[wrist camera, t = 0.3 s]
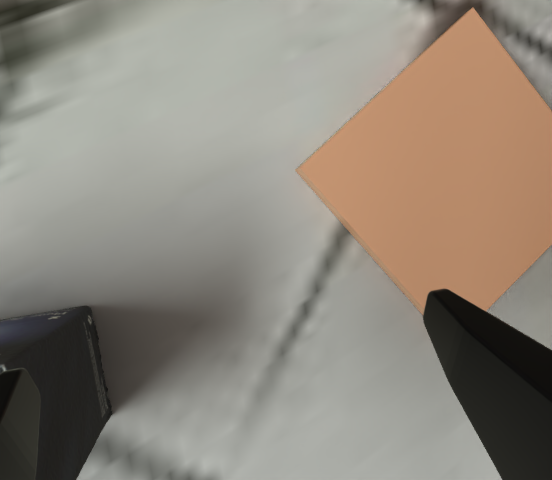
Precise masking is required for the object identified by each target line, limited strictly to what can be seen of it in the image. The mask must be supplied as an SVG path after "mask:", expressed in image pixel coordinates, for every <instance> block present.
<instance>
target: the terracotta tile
mask: <svg viewBox="0 0 552 480" xmlns="http://www.w3.org/2000/svg"><path fill="white" fill-rule="evenodd" d="M295 171H296V172H297V173H298V174H299V175H300V176H301V178H302V179H303V180H304V181H305V182H306V183H307V184H308V185H309V187H310V188H311V189H312V190H313V191H314V192H315V193H316V195H317V196H318V197H319V198H320V199H321V200H322V201H323V202H324V204H325V205H326V206H327V207H328V208H329V209H330V210H331V212H332V213H333V214H334V215H335V216H336V217H337V218H338V219H339V221H340V222H341V223H342V224H343V225H344V226H345V227H346V229H347V230H348V231H349V232H350V233H351V234H352V235H353V236H354V238H355V239H356V240H357V241H358V242H359V243H360V244H361V246H362V247H363V248H364V249H365V250H366V251H367V252H368V254H369V255H370V256H371V257H372V258H373V259H374V260H375V261H376V263H377V264H378V265H379V266H380V267H381V268H382V269H383V271H384V272H385V273H386V274H387V275H388V276H389V277H390V278H391V280H392V281H393V282H394V283H395V284H396V285H397V286H398V288H399V289H400V290H401V291H402V292H403V293H404V294H405V295H406V297H407V298H408V299H409V300H410V301H411V302H412V303H413V305H414V306H415V307H416V308H417V309H418V310H419V311H420V312H421V314H422V315H423V314H424V309H425V304H426V300H427V295H428V293H429V292H430V291H433V290H438V289H444V288H445V289H449V290H451V291H452V292H454V293H456V294H457V295H459V296H461V297H462V298H464V299H466V300H467V301H469V302H471V303H473V304H474V305H476V306H478V307H479V308H481V309H483V310H484V311H486V310H487V309H488V308H489V307H490V306H491V305H492V304H493V303H494V302H495V301H496V300H497V299H498V298H499V297H500V296H501V295H502V294H503V293H504V292H505V291H506V290H507V289H508V288H509V287H510V286H511V285H512V284H513V283H514V282H515V281H516V280H517V279H518V278H519V277H520V276H521V275H522V274H523V273H524V272H525V271H526V270H527V269H528V268H529V267H530V266H531V265H532V264H533V263H534V262H535V261H536V260H537V259H538V258H539V257H540V256H541V255H542V254H543V253H544V252H545V251H546V250H547V249H548V248H549V247H550V246H551V245H552V111H551V109H550V108H549V107H548V105H547V104H546V103H545V101H544V100H543V99H542V97H541V96H540V95H539V93H538V92H537V91H536V90H535V88H534V87H533V86H532V84H531V83H530V82H529V80H528V79H527V78H526V76H525V75H524V74H523V72H522V71H521V70H520V69H519V67H518V66H517V65H516V63H515V62H514V61H513V59H512V58H511V57H510V55H509V54H508V53H507V51H506V50H505V49H504V47H503V46H502V45H501V44H500V42H499V41H498V40H497V38H496V37H495V36H494V34H493V33H492V32H491V30H490V29H489V28H488V26H487V25H486V24H485V22H484V21H483V20H482V19H481V17H480V16H479V15H478V13H477V12H476V11H475V9H474V8H471V9H470V10H469V11H468V12H466V13H465V14H464V15H463V16H461V17H460V18H459V19H458V20H457V21H456V22H455V23H454V24H453V25H451V26H450V27H449V28H448V29H447V30H446V31H445V32H444V33H443V34H442V35H441V36H440V37H438V38H437V39H436V40H435V41H434V42H433V43H432V44H431V45H430V46H429V47H428V48H427V49H425V50H424V51H423V52H422V53H421V54H420V55H419V56H418V57H417V58H416V59H415V60H414V61H412V62H411V63H410V64H409V65H408V66H407V67H406V68H405V69H404V70H403V71H402V72H401V73H399V74H398V75H397V76H396V77H395V78H394V79H393V80H392V81H391V82H390V83H389V84H388V85H387V86H385V87H384V88H383V89H382V90H381V91H380V92H379V93H378V94H377V95H376V96H375V97H374V98H372V99H371V100H370V101H369V102H368V103H367V104H366V105H365V106H364V107H363V108H362V109H361V110H359V111H358V112H357V113H356V114H355V115H354V116H353V117H352V118H351V119H350V120H349V121H348V122H346V123H345V124H344V125H343V126H342V127H341V128H340V129H339V130H338V131H337V132H336V133H335V134H333V135H332V136H331V137H330V138H329V139H328V140H327V141H326V142H325V143H324V144H323V145H322V146H321V147H319V148H318V149H317V150H316V151H315V152H314V153H313V154H312V155H311V156H310V157H309V158H308V159H306V160H305V161H304V162H303V163H302V164H301V165H300V166H299V167H298V168H297V169H296V170H295Z"/></svg>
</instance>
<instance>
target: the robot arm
mask: <svg viewBox="0 0 552 480" xmlns="http://www.w3.org/2000/svg"><path fill="white" fill-rule="evenodd" d="M423 320H424V324H425V327H426V329H427V332H428V334H429V337H430V339H431V341H432V344H433V346H434V349H435V351H436V353H437V356H438V358H439V361H440V363H441V365H442V368H443V370H444V373H445V375H446V377H447V379H448V381H449V383H450V385H451V387H452V389H453V391H454V393H455V395H456V396H457V398H458V400H459V402H460V404H461V405H462V407H463V409H464V411H465V413H466V415H467V416H468V418H469V420H470V422H471V424H472V425H473V427H474V429H475V431H476V433H477V434H478V436H479V438H480V440H481V442H482V443H483V445H484V447H485V449H486V451H487V453H488V454H489V456H490V458H491V460H492V462H493V463H494V465H495V467H496V469H497V471H498V472H499V474H500V476H501V478H502V480H552V350H550V349H549V348H547V347H545V346H544V345H542V344H540V343H539V342H537V341H535V340H534V339H532V338H530V337H528V336H527V335H525V334H523V333H522V332H520V331H518V330H517V329H515V328H513V327H511V326H510V325H508V324H506V323H505V322H503V321H501V320H500V319H498V318H496V317H495V316H493V315H491V314H489V313H488V312H486V311H484V310H483V309H481V308H479V307H478V306H476V305H474V304H473V303H471V302H469V301H467V300H466V299H464V298H462V297H461V296H459V295H457V294H456V293H454V292H452V291H451V290H449V289H445V288H444V289H438V290H433V291H430V292H429V293H428V295H427V300H426V304H425V309H424V314H423ZM39 418H40V393H39V390H38V388H37V387H36V385H35V383H34V382H33V380H32V378H31V376H30V375H29V373H28V371H27V370H26V369H24V368H17V369H12V370H6V371H4V372H2V373H1V374H0V480H35V475H36V465H37V451H38V435H39Z"/></svg>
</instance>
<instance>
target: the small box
mask: <svg viewBox="0 0 552 480" xmlns="http://www.w3.org/2000/svg"><path fill="white" fill-rule="evenodd" d="M98 340H99V338H98V335H97V331H96V326H95V324H94V320H93V317H92V311H91V309H90V307H89V306H82V307H75V308H69V309H63V310H57V311H51V312H46V313H40V314H34V315H28V316H22V317H16V318H11V319H5V320H0V374H1V373H2V372H4V371H6V370H12V369H17V368H24V369H26V370H27V371H28V373H29V375H30V376H31V378H32V380H33V382H34V383H35V385H36V387H37V388H38V390H39V393H40V418H39V435H38V451H37V465H36V475H35V480H76V479H77V477H78V476H79V473H80V471H81V469H82V467H83V465H84V464H85V462H86V460H87V458H88V456H89V454H90V452H91V450H92V448H93V447H94V445H95V443H96V440H97V438H98V437H99V435H100V433H101V431H102V430H103V428H104V426H105V424H106V423H107V421H108V420H109V418H110V417H111V415H112V414H113V413H112V411H111V404H110V400H109V399H108V396H107V390H108V389H107V387H106V385H105V380H104V375H103V369H102V364H101V355H100V352H99V346H98Z"/></svg>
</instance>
